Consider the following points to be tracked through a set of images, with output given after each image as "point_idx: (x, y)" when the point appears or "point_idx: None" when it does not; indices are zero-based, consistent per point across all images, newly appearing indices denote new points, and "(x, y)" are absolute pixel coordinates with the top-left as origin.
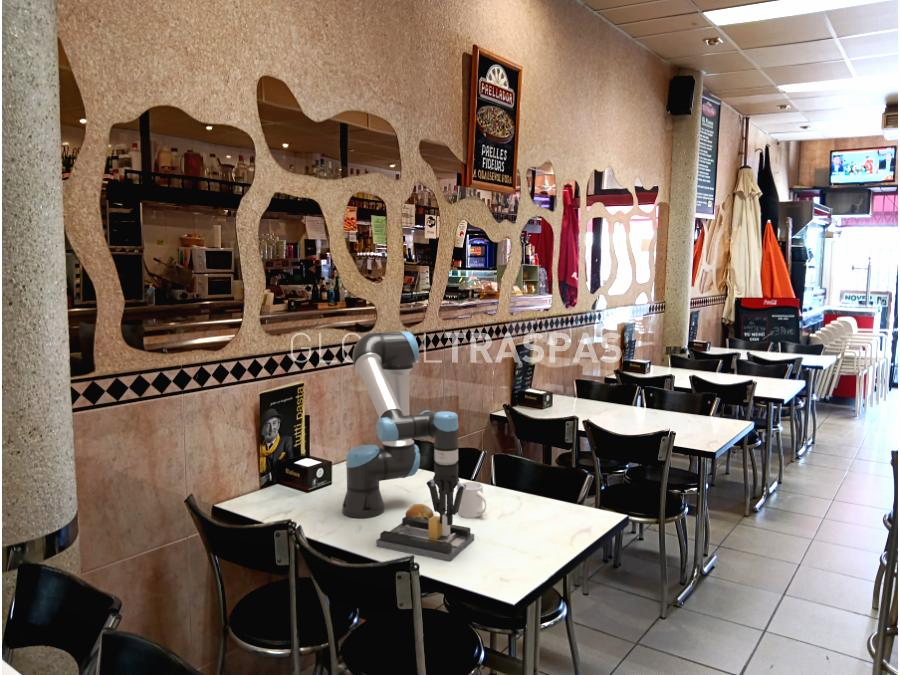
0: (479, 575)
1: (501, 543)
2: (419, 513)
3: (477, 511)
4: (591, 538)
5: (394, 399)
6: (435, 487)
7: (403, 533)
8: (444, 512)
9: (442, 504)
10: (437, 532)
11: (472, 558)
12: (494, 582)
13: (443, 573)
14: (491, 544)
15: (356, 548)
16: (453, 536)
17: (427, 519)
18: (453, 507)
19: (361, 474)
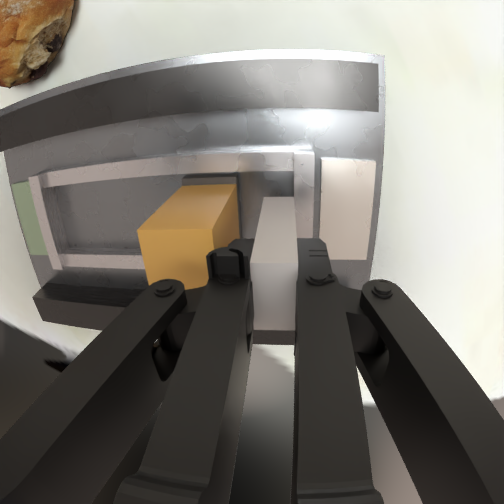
0: (461, 348)
1: (493, 66)
2: (8, 53)
3: None
4: None
5: None
6: (35, 494)
7: (75, 256)
8: (251, 302)
9: (242, 408)
10: None
11: (430, 257)
12: (494, 358)
13: (359, 380)
14: (465, 87)
15: (43, 326)
16: (313, 186)
17: (53, 24)
18: (377, 394)
19: None
